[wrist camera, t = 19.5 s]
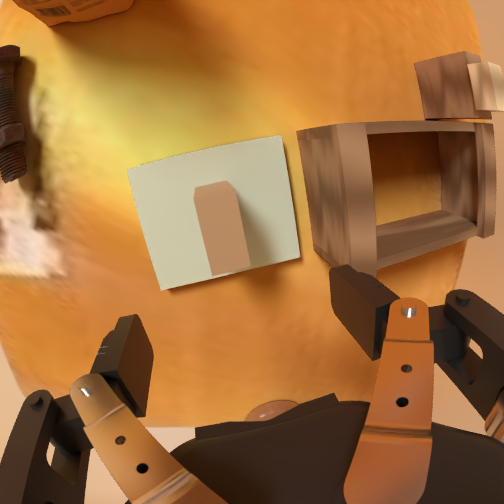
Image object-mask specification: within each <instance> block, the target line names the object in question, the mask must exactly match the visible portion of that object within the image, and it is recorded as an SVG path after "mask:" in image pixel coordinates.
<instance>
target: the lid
mask: <svg viewBox="0 0 504 504" xmlns="http://www.w3.org/2000/svg"><path fill="white" fill-rule="evenodd" d="M127 173H128V177H129V181H130V185H131V189H132V193H133V197H134V201H135V205H136V209H137V213H138V216H139V220H140V224H141V227H142V231H143V234H144V238H145V241H146V244H147V248H148V251H149V254H150V257H151V261H152V264H153V267H154V270H155V273H156V276H157V279H158V282H159V285H160V288H161V290H165V289H169V288H174V287H178V286H183V285H187V284H191V283H195V282H200V281H204V280H208V279H213V278H217V277H221V276H225V275H229V274H234V273H238V272H242V271H246V270H250V269H254V268H258V267H263V266H267V265H271V264H275V263H279V262H283V261H287V260H291V259H295V258H299V257H300V252H299V244H298V237H297V230H296V223H295V216H294V209H293V203H292V196H291V190H290V184H289V177H288V171H287V165H286V159H285V154H284V148H283V142H282V137H281V135H278V136H272V137H265V138H259V139H253V140H248V141H242V142H237V143H232V144H227V145H222V146H217V147H212V148H207V149H203V150H198V151H194V152H190V153H186V154H181V155H177V156H173V157H169V158H166V159H162V160H158V161H154V162H151V163H147V164H143V165H140V166H137V167H133V168H130V169H127Z"/></svg>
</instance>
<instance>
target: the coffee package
mask: <svg viewBox="0 0 504 504" xmlns="http://www.w3.org/2000/svg"><path fill="white" fill-rule="evenodd" d="M13 1H14V2H15V3H16V4H17V5H18V6H19V7H20V8H23V9H24V10H26V11H28V12H30V13H32V14H33V15H34V16H35V17H36V18H38V19H39V20H41V21H42V22H43V23H45V24H46V25H47V26H53V25H56V24H60V23H62V22H66V21H70V22H82V21H91V20H95V19H98V18H101V17H103V16H105V15H109V14H114V13H119V12H123V11H126V10H128V9H129V8H130V7H131V6H132V4H133V2H134V0H13Z"/></svg>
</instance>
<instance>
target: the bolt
mask: <svg viewBox="0 0 504 504" xmlns="http://www.w3.org/2000/svg"><path fill="white" fill-rule="evenodd" d="M20 64H21V63H20V47H18V46H15V45H6V46H3V47H0V171H1V173H0V174H2V176H1V177H3V178H2V180H4V183H7V182H9V181H10V182H11V181H13V180H15V179H17V178H19V177H21V176H23V175H24V174H25V172H26V171H27V170H26V169H25V168H26V166H25V165H26V164H25V161H24V159H25V158H23V156H24V155H22V154H23V152H22V150H23V149H21V148H22V146H21V145H22V144H23V143H24V142H25V141H26V136H25V130H24V125H23V124H22V123H17V122H18V120H17V119H18V118H17V115H16V114H17V112H16V104H15V93H14V80H13V79H14V68H16V67H17V66H19V65H20Z"/></svg>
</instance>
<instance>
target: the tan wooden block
mask: <svg viewBox="0 0 504 504" xmlns="http://www.w3.org/2000/svg"><path fill="white" fill-rule="evenodd" d="M467 65H468V70H469V74H470V79H471V84H472V89H473V94H474V100H475V106H476V110H482V111H489V112H491V111H492V112H504V79H503V75H502V71H501V67H500V66H498V65H495V64H493V63H490V62H480V63H473V64H467Z"/></svg>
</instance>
